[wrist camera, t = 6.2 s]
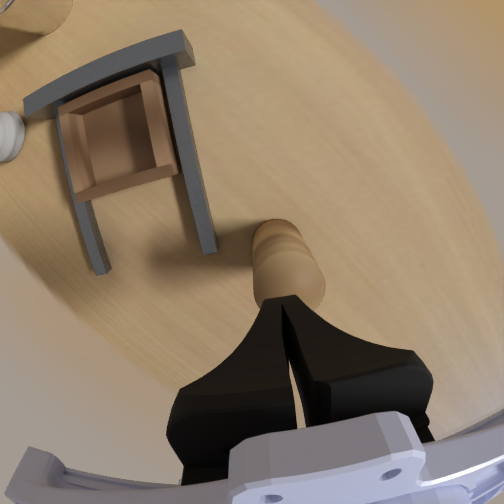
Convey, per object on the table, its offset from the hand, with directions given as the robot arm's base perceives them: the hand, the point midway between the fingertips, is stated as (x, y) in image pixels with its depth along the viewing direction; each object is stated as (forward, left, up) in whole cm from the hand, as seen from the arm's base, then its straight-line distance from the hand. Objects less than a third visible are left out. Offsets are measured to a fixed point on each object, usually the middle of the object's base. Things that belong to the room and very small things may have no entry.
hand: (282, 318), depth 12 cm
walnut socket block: (+9, +8, -10) cm, 16 cm away
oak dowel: (0, -1, -10) cm, 10 cm away
